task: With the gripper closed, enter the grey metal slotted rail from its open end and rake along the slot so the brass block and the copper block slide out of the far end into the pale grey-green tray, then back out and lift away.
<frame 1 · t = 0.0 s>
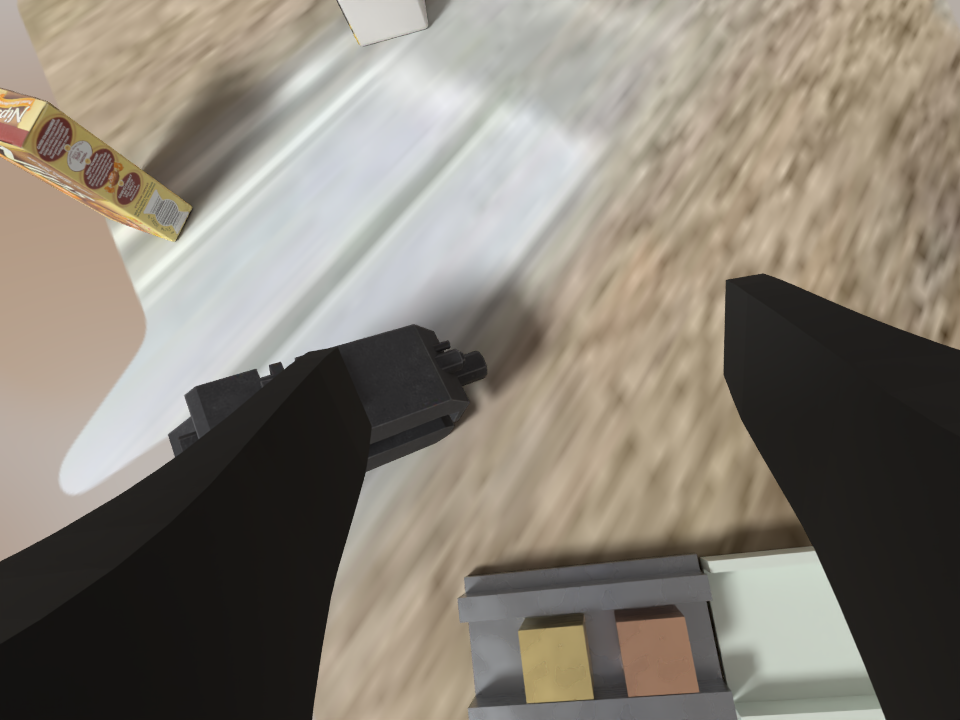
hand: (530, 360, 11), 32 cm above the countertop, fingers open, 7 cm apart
candy box: (152, 215, 55), on the countertop
brass block: (558, 647, 38), point 1 cm above the countertop, touching rail
rail: (588, 642, 38), on the countertop
tray: (823, 623, 36), on the countertop
copper block: (650, 640, 37), point 1 cm above the countertop, touching rail
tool: (369, 439, 45), on the countertop
medicine bottle: (391, 12, 56), on the countertop
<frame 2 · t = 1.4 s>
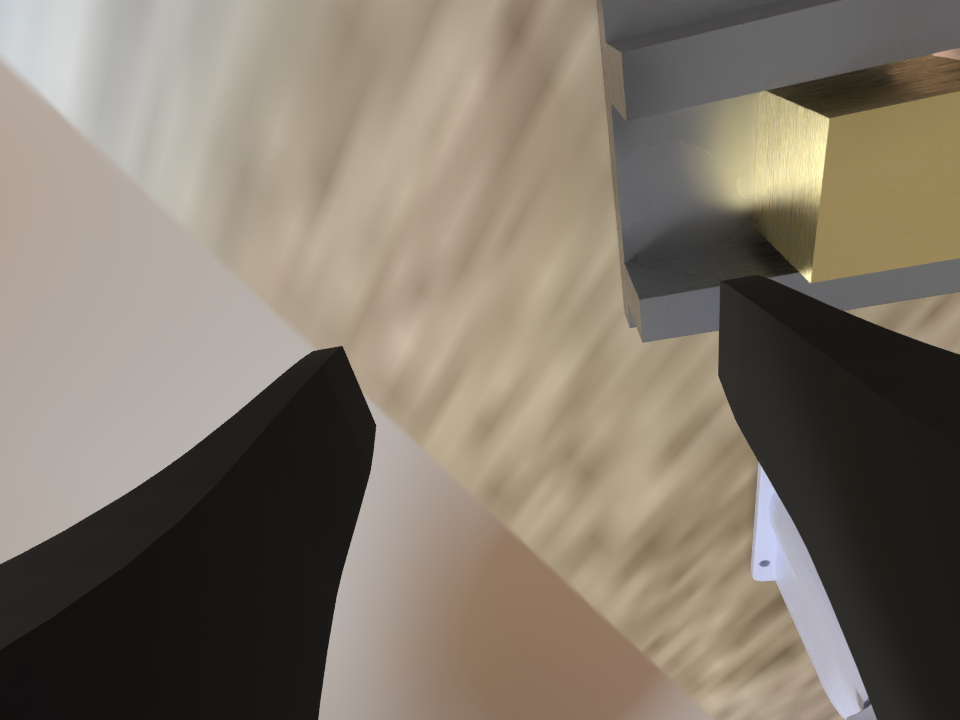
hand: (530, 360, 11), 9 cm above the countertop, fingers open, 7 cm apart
brass block: (829, 146, 16), point 1 cm above the countertop, touching rail
rail: (885, 124, 17), on the countertop
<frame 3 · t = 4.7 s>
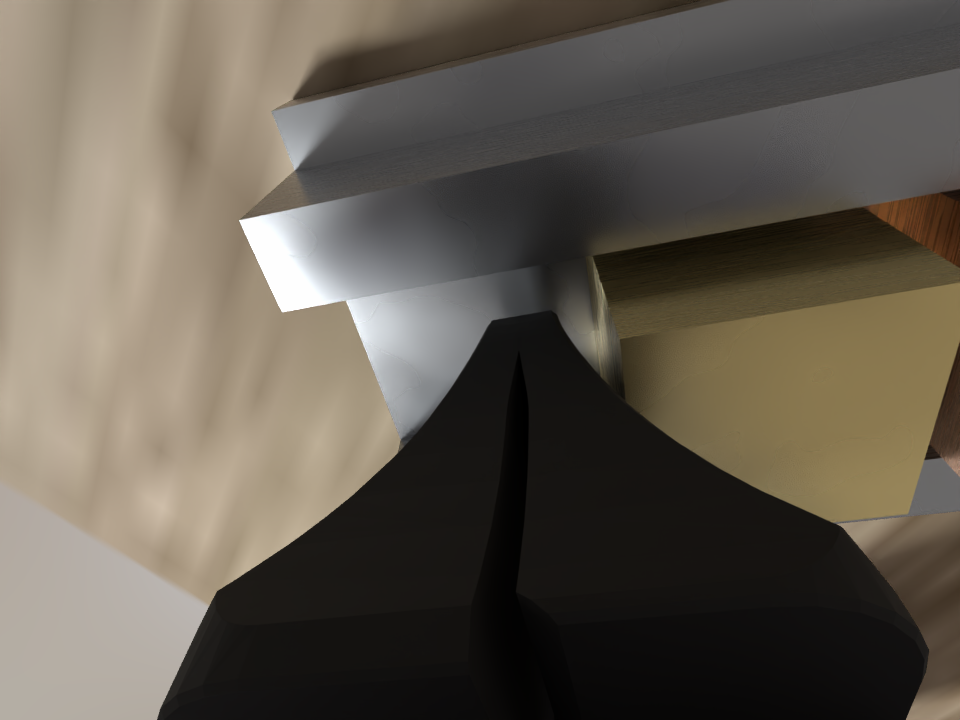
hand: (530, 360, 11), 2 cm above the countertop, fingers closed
brass block: (695, 298, 11), point 1 cm above the countertop, touching gripper
rail: (738, 268, 12), on the countertop
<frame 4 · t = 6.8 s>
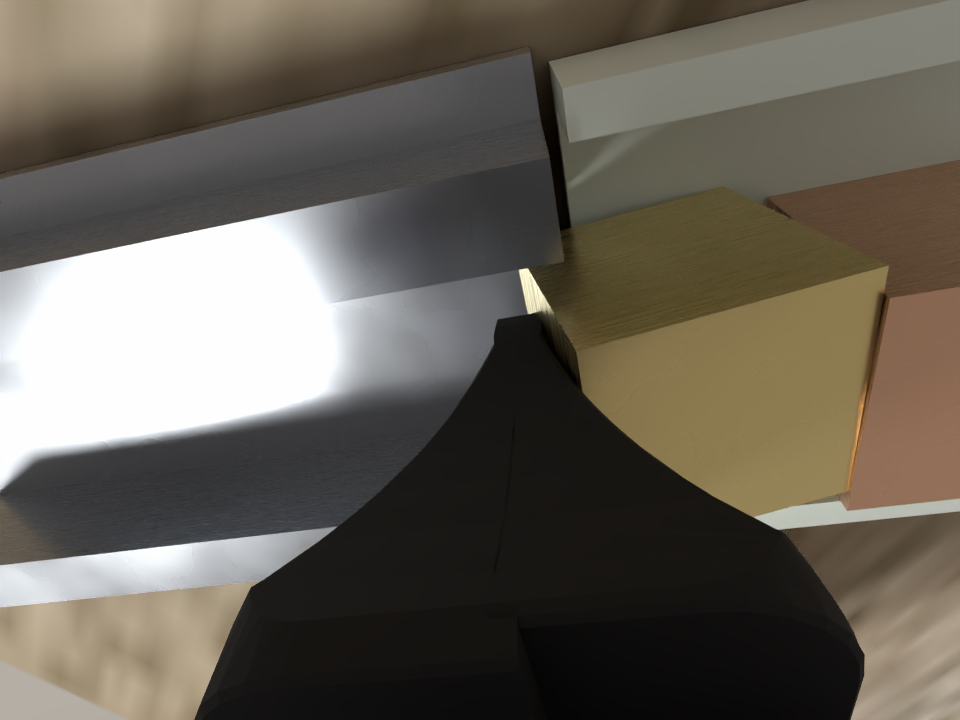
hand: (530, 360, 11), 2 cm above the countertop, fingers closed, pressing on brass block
brass block: (627, 309, 11), point 1 cm above the countertop, tilted 11°, touching gripper, tray
rail: (236, 354, 14), on the countertop
tray: (912, 240, 11), on the countertop
copper block: (866, 274, 11), point 1 cm above the countertop, touching tray
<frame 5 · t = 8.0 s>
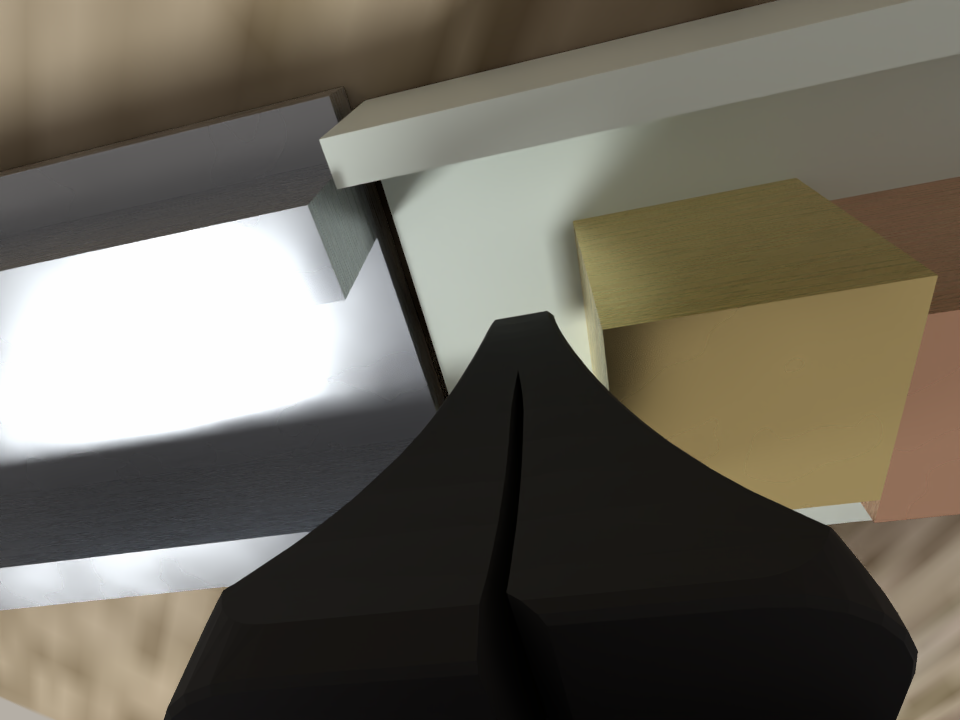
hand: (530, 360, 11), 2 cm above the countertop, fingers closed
brass block: (683, 294, 11), point 1 cm above the countertop, touching copper block, gripper, tray
rail: (113, 376, 14), on the countertop
tray: (741, 266, 12), on the countertop
copper block: (891, 284, 11), point 1 cm above the countertop, touching brass block, tray
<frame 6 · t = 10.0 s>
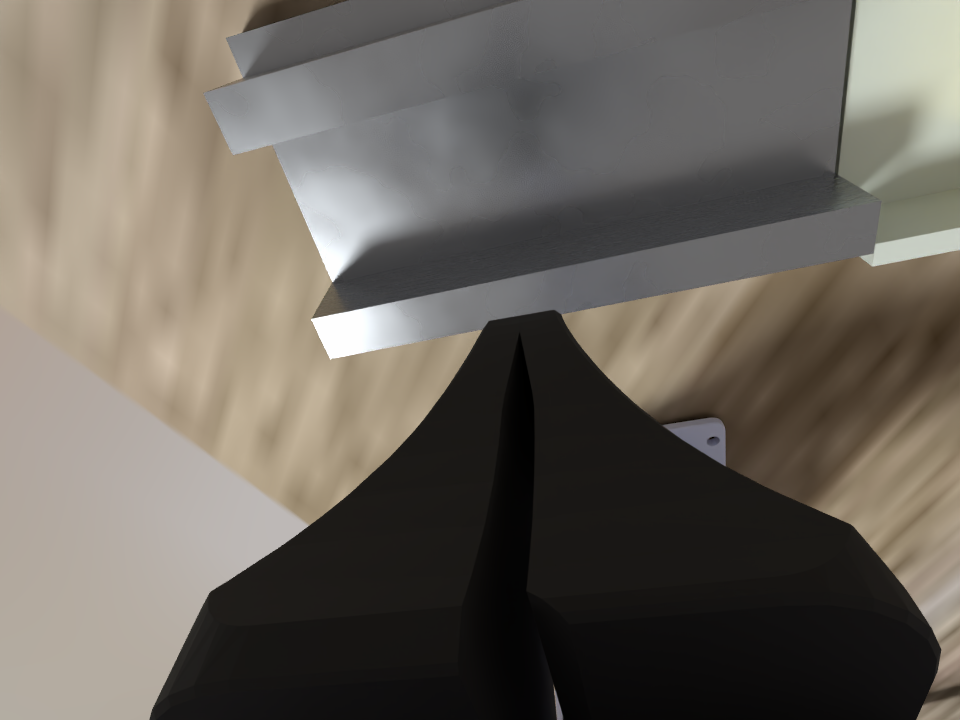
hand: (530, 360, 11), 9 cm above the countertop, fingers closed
rail: (548, 144, 17), on the countertop
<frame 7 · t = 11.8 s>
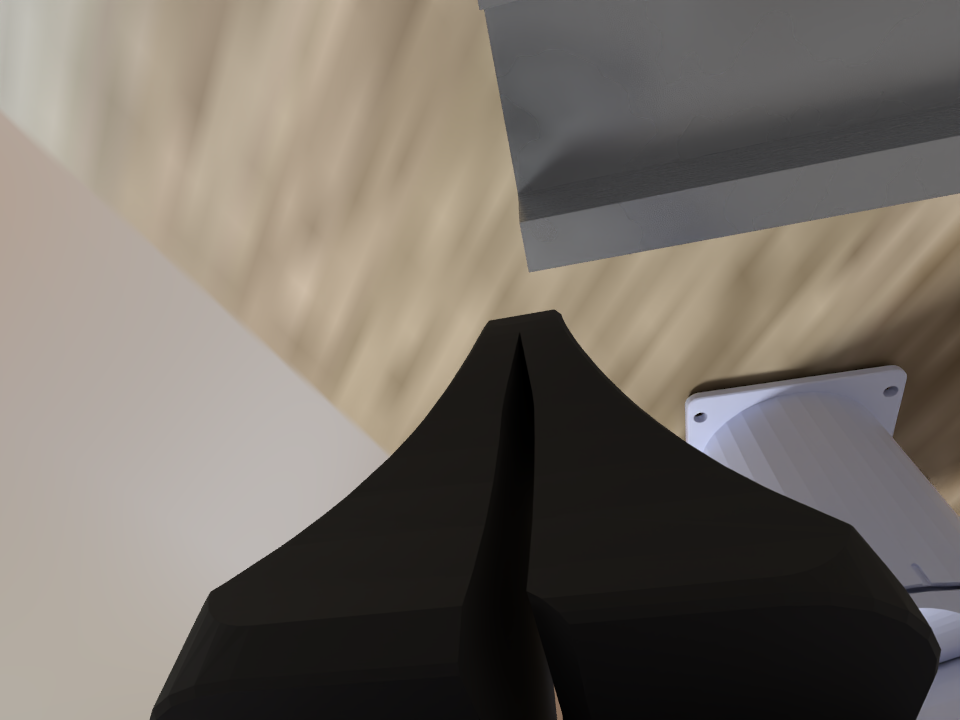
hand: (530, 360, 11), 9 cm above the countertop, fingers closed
rail: (786, 35, 15), on the countertop
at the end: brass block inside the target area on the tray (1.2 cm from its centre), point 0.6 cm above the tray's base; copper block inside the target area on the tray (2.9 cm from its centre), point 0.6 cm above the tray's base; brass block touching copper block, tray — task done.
